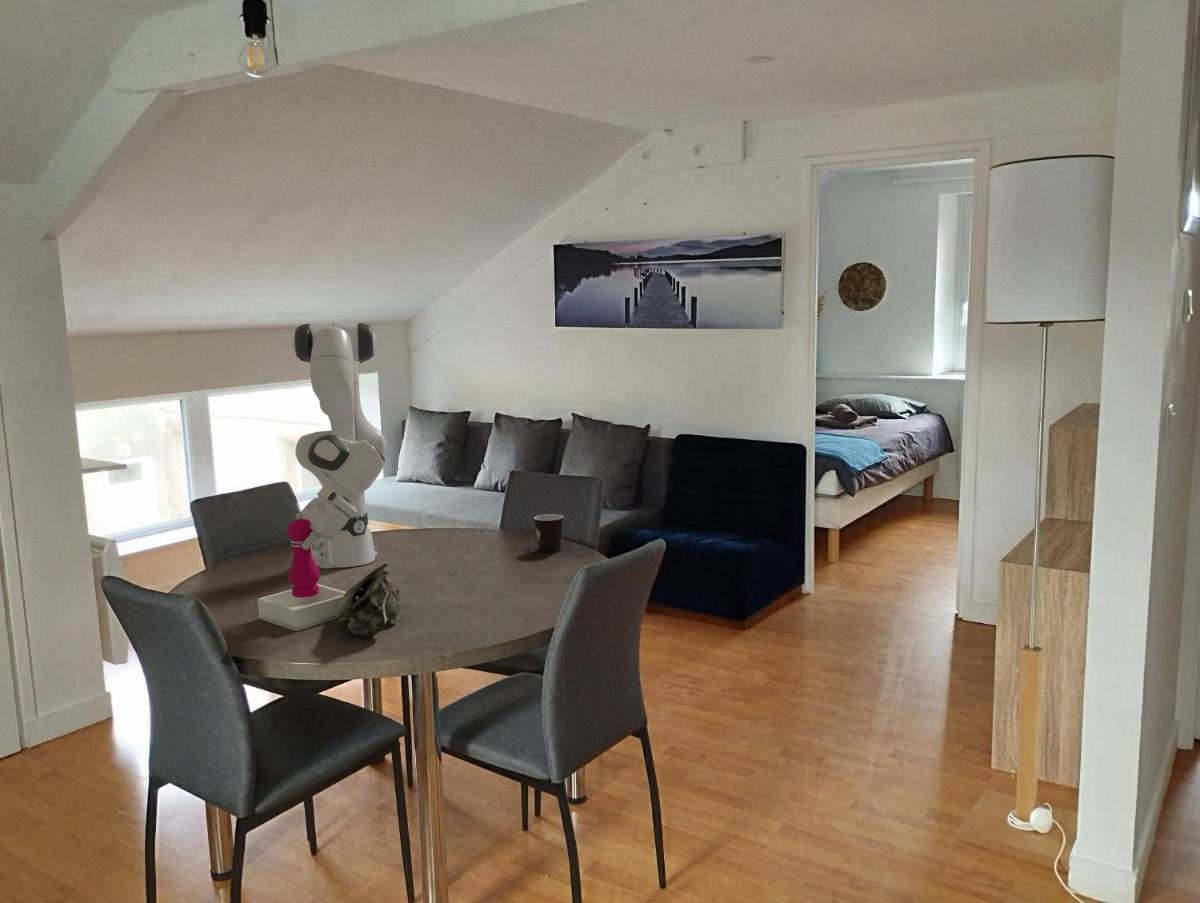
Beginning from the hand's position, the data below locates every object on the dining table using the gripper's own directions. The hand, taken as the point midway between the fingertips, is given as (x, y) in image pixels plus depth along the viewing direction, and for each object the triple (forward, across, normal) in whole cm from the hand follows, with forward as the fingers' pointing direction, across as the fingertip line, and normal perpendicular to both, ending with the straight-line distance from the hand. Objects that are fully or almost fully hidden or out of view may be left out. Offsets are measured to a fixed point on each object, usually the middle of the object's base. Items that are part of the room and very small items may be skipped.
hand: (298, 545), depth 239 cm
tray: (+12, 0, +13) cm, 18 cm away
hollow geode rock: (+6, +17, +20) cm, 27 cm away
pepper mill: (+8, 0, +9) cm, 12 cm away
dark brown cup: (-44, -19, +69) cm, 84 cm away
